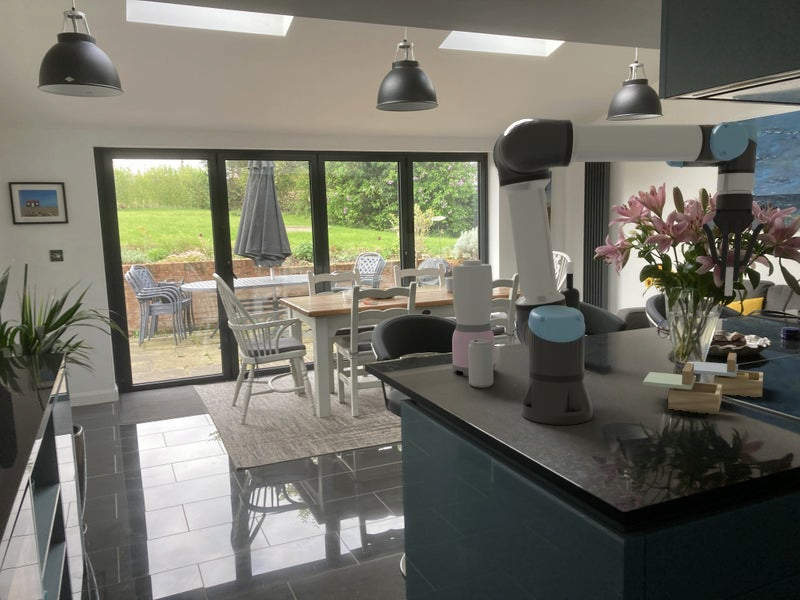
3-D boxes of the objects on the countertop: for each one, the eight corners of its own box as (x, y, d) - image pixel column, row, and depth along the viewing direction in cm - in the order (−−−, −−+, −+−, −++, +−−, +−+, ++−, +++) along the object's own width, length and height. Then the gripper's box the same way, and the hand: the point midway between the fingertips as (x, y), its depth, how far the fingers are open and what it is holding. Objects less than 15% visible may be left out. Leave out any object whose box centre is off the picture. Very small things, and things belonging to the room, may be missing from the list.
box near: (718, 414, 135) (719, 394, 134) (668, 409, 140) (668, 390, 139) (721, 403, 144) (721, 384, 143) (673, 398, 149) (674, 379, 148)
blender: (500, 375, 176) (499, 260, 172) (458, 377, 174) (456, 262, 171) (485, 363, 192) (483, 257, 188) (446, 365, 190) (443, 259, 186)
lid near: (691, 389, 137) (691, 372, 137) (642, 384, 142) (643, 368, 142) (695, 379, 146) (696, 363, 145) (649, 375, 151) (650, 359, 150)
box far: (762, 400, 145) (762, 381, 144) (713, 395, 150) (714, 377, 149) (762, 389, 153) (763, 372, 153) (716, 385, 158) (717, 368, 158)
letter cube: (747, 393, 149) (748, 376, 148) (728, 391, 151) (729, 374, 150) (748, 389, 152) (748, 372, 152) (729, 387, 154) (729, 371, 154)
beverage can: (474, 381, 170) (474, 337, 168) (497, 383, 167) (496, 339, 165) (464, 386, 164) (464, 341, 163) (487, 389, 161) (487, 343, 160)
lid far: (736, 376, 147) (736, 360, 146) (689, 372, 152) (689, 357, 151) (737, 367, 155) (738, 352, 155) (693, 364, 160) (693, 349, 160)
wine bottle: (576, 363, 188) (576, 262, 184) (557, 361, 191) (557, 262, 187) (581, 359, 193) (582, 261, 189) (563, 357, 196) (563, 261, 192)
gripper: (767, 193, 145) (760, 295, 148) (704, 194, 151) (699, 292, 154) (767, 191, 138) (760, 298, 141) (702, 193, 145) (696, 295, 148)
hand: (728, 295), depth 148 cm, fingers closed
